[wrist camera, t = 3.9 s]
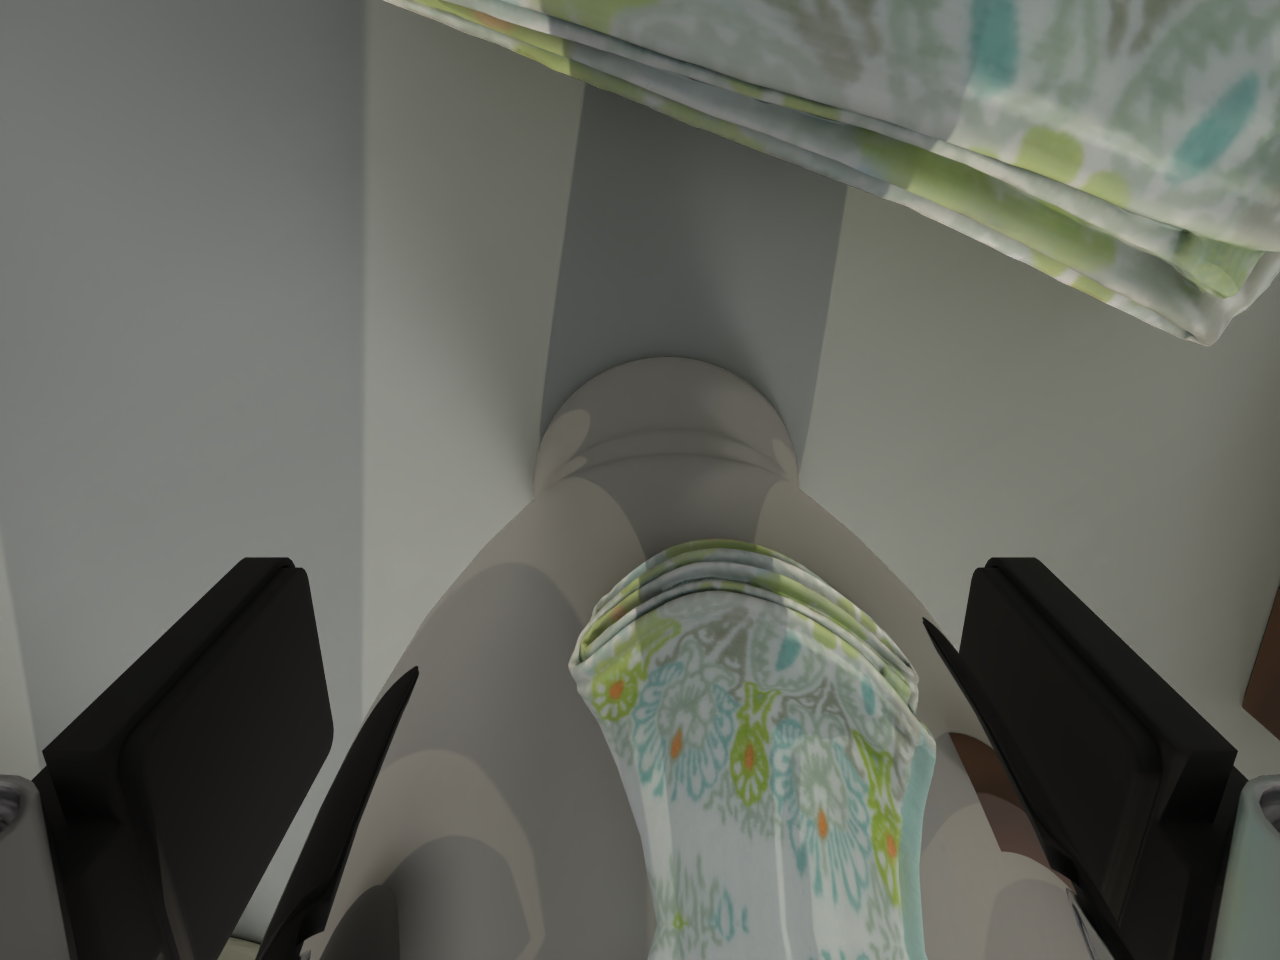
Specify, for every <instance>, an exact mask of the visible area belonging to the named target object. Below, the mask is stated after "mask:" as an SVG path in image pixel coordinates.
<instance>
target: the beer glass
mask: <svg viewBox="0 0 1280 960" xmlns="http://www.w3.org/2000/svg"><path fill="white" fill-rule="evenodd" d="M533 491H534V499H533V500H532V501H531V502H530V503H529V504H528V505H526V506H525V507H524V508H523V509H522V510H521V511H520V512H519V513H518V514H517V515H516V516H515V517H514V518H513V519H512V520H511V521H510V522H509V523H508V524H507V525H506V526H505V527H504V528H503V529H502V530H501V531H499V532H498V533H497V534H496V535H495V536H494V537H493V538H492V539H491V540H490V541H489V542H488V543H487V544H486V545H485V546H484V548H483V549H482V550H481V551H480V552H479V553H478V554H477V556H476V557H475V558H474V559H473V560H472V561H471V563H470V564H469V565H468V566H467V567H466V569H465V570H464V571H463V572H462V573H461V574H460V576H459V577H458V578H457V579H456V580H455V582H454V583H453V584H452V585H451V586H450V588H449V589H448V590H447V591H446V592H445V594H444V595H443V596H442V597H441V598H440V599H439V601H438V602H437V603H436V604H435V606H434V607H433V608H432V609H431V611H430V612H429V613H428V615H427V616H426V618H425V619H424V621H423V622H422V624H421V625H420V627H419V628H418V630H417V632H416V633H415V635H414V637H413V638H412V640H411V642H410V643H409V645H408V646H407V648H406V650H405V651H404V653H403V655H402V656H401V658H400V660H399V661H398V663H397V665H396V666H395V668H394V669H393V671H392V673H391V674H390V676H389V678H388V679H387V681H386V683H385V684H384V686H383V687H382V689H381V691H380V692H379V694H378V696H377V697H376V699H375V701H374V702H373V704H372V706H371V707H370V709H369V711H368V713H367V715H366V717H365V719H364V721H363V723H362V725H361V727H360V729H359V731H358V733H357V735H356V737H355V739H354V741H353V743H352V745H351V747H350V749H349V751H348V753H347V755H346V757H345V759H344V761H343V763H342V765H341V767H340V769H339V771H338V773H337V775H336V777H335V779H334V781H333V783H332V785H331V787H330V789H329V792H328V794H327V796H326V798H325V800H324V802H323V804H322V806H321V808H320V810H319V812H318V814H317V816H316V818H315V820H314V822H313V825H312V827H311V829H310V832H309V834H308V836H307V838H306V841H305V843H304V845H303V848H302V850H301V852H300V855H299V857H298V859H297V861H296V864H295V866H294V868H293V871H292V873H291V875H290V878H289V880H288V882H287V884H286V887H285V889H284V891H283V894H282V896H281V898H280V900H279V903H278V905H277V907H276V910H275V912H274V914H273V917H272V919H271V921H270V923H269V926H268V928H267V930H266V933H265V935H264V937H263V940H262V942H261V944H260V947H259V949H258V951H257V954H256V956H255V959H254V960H1136V959H1135V957H1134V955H1133V953H1132V951H1131V949H1130V947H1129V945H1128V943H1127V941H1126V939H1125V937H1124V935H1123V933H1122V931H1121V929H1120V927H1119V925H1118V923H1117V921H1116V919H1115V918H1114V916H1113V914H1112V912H1111V910H1110V908H1109V906H1108V905H1107V903H1106V901H1105V899H1104V897H1103V895H1102V893H1101V891H1100V890H1099V888H1098V886H1097V884H1096V882H1095V880H1094V878H1093V877H1092V875H1091V873H1090V871H1089V869H1088V867H1087V865H1086V863H1085V862H1084V860H1083V858H1082V856H1081V854H1080V852H1079V850H1078V849H1077V847H1076V845H1075V843H1074V841H1073V839H1072V837H1071V835H1070V834H1069V832H1068V830H1067V828H1066V826H1065V824H1064V822H1063V821H1062V819H1061V817H1060V815H1059V813H1058V811H1057V809H1056V807H1055V806H1054V804H1053V802H1052V801H1051V799H1050V797H1049V795H1048V794H1047V792H1046V790H1045V789H1044V787H1043V785H1042V784H1041V782H1040V780H1039V779H1038V777H1037V775H1036V774H1035V772H1034V770H1033V769H1032V767H1031V765H1030V764H1029V762H1028V760H1027V759H1026V757H1025V755H1024V754H1023V752H1022V750H1021V749H1020V747H1019V745H1018V744H1017V742H1016V740H1015V739H1014V737H1013V735H1012V734H1011V732H1010V730H1009V729H1008V727H1007V725H1006V724H1005V722H1004V720H1003V719H1002V717H1001V715H1000V714H999V712H998V710H997V709H996V707H995V705H994V704H993V702H992V700H991V699H990V697H989V695H988V694H987V692H986V691H985V689H984V688H983V687H982V685H981V684H980V682H979V681H978V679H977V678H976V677H975V675H974V674H973V673H972V671H971V670H970V668H969V667H968V666H967V664H966V663H965V662H964V660H963V659H962V657H961V656H960V655H959V653H958V652H957V651H956V649H955V648H954V646H953V645H952V644H951V642H950V641H949V640H948V638H947V637H946V636H945V634H944V633H943V631H942V630H941V629H940V627H939V626H938V625H937V623H936V622H935V620H934V619H933V618H932V616H931V615H930V614H929V612H928V611H927V610H926V608H925V607H924V606H923V604H922V603H921V602H920V601H919V600H918V598H917V597H916V596H915V595H914V594H913V593H912V592H911V591H910V590H909V588H908V587H907V586H906V585H905V584H904V583H903V582H902V581H901V580H900V579H899V578H898V577H897V576H896V575H895V574H894V573H893V572H892V571H891V570H890V569H889V568H888V567H887V566H886V565H885V564H884V563H883V562H882V561H881V560H880V559H879V558H878V557H877V556H876V555H875V554H874V553H873V552H872V551H871V550H870V549H869V548H868V547H867V546H866V545H865V544H864V543H863V542H862V541H861V540H860V539H859V538H858V537H857V536H856V535H855V534H854V533H853V532H852V531H851V530H849V529H848V528H847V527H846V526H845V525H843V524H842V523H841V522H840V521H839V520H837V519H836V518H835V517H834V516H833V515H831V514H830V513H829V512H828V511H827V510H825V509H824V508H823V507H822V506H821V505H819V504H818V503H817V502H816V501H815V500H813V499H812V498H811V497H810V496H808V495H807V494H806V493H804V492H803V491H802V490H801V489H799V475H798V466H797V461H796V456H795V452H794V448H793V445H792V442H791V439H790V436H789V434H788V431H787V429H786V427H785V425H784V423H783V421H782V420H781V418H780V416H779V415H778V413H777V412H776V410H775V409H774V408H773V406H772V405H771V404H770V403H769V402H768V400H767V399H766V398H765V397H764V396H763V395H762V394H761V393H760V392H759V391H757V390H756V389H755V388H754V387H753V386H751V385H750V384H749V383H748V382H746V381H745V380H743V379H742V378H740V377H739V376H737V375H735V374H733V373H731V372H729V371H727V370H725V369H723V368H721V367H718V366H716V365H713V364H710V363H707V362H703V361H699V360H695V359H689V358H681V357H652V358H645V359H639V360H635V361H631V362H627V363H624V364H621V365H618V366H616V367H613V368H611V369H609V370H606V371H604V372H602V373H601V374H599V375H597V376H595V377H594V378H592V379H591V380H589V381H588V382H586V383H585V384H583V385H582V386H581V387H580V388H578V389H577V390H576V391H575V392H574V393H573V394H572V395H571V396H570V397H569V398H568V399H567V400H566V401H565V402H564V403H563V405H562V406H561V407H560V408H559V410H558V411H557V412H556V414H555V415H554V417H553V418H552V420H551V422H550V423H549V425H548V427H547V429H546V431H545V433H544V436H543V438H542V441H541V443H540V446H539V450H538V453H537V457H536V462H535V468H534V479H533Z"/></svg>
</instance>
